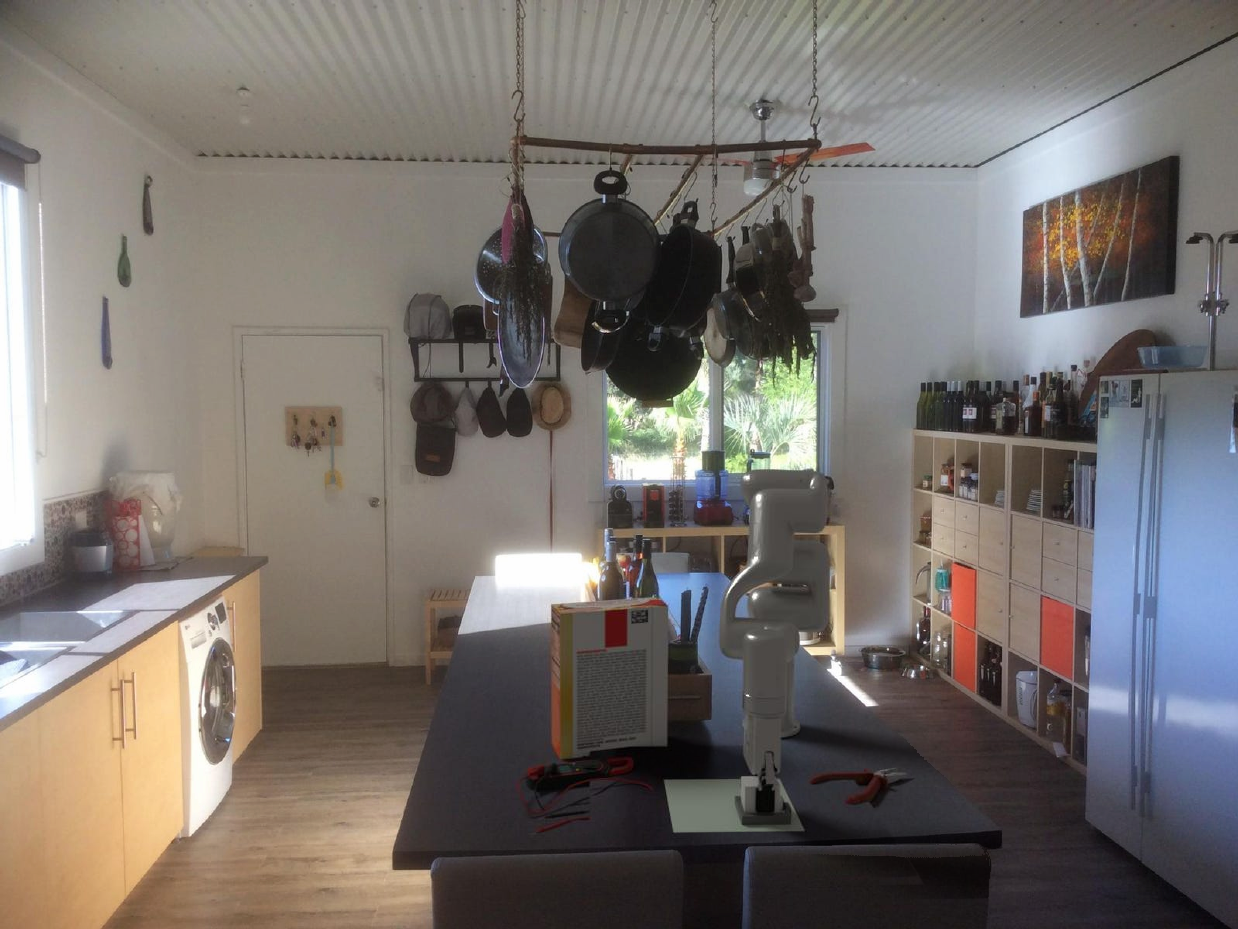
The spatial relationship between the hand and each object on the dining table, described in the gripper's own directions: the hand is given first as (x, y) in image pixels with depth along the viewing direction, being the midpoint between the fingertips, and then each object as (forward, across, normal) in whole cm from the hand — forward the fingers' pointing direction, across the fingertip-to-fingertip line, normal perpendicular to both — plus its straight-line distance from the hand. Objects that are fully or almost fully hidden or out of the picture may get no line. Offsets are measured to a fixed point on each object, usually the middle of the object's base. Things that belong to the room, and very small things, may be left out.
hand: (762, 804), depth 154 cm
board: (+3, -4, -5) cm, 7 cm away
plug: (+2, 0, 0) cm, 2 cm away
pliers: (+3, -11, +22) cm, 25 cm away
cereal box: (+3, -33, -26) cm, 42 cm away
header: (+2, 0, 0) cm, 2 cm away
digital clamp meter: (+4, -10, -31) cm, 33 cm away
